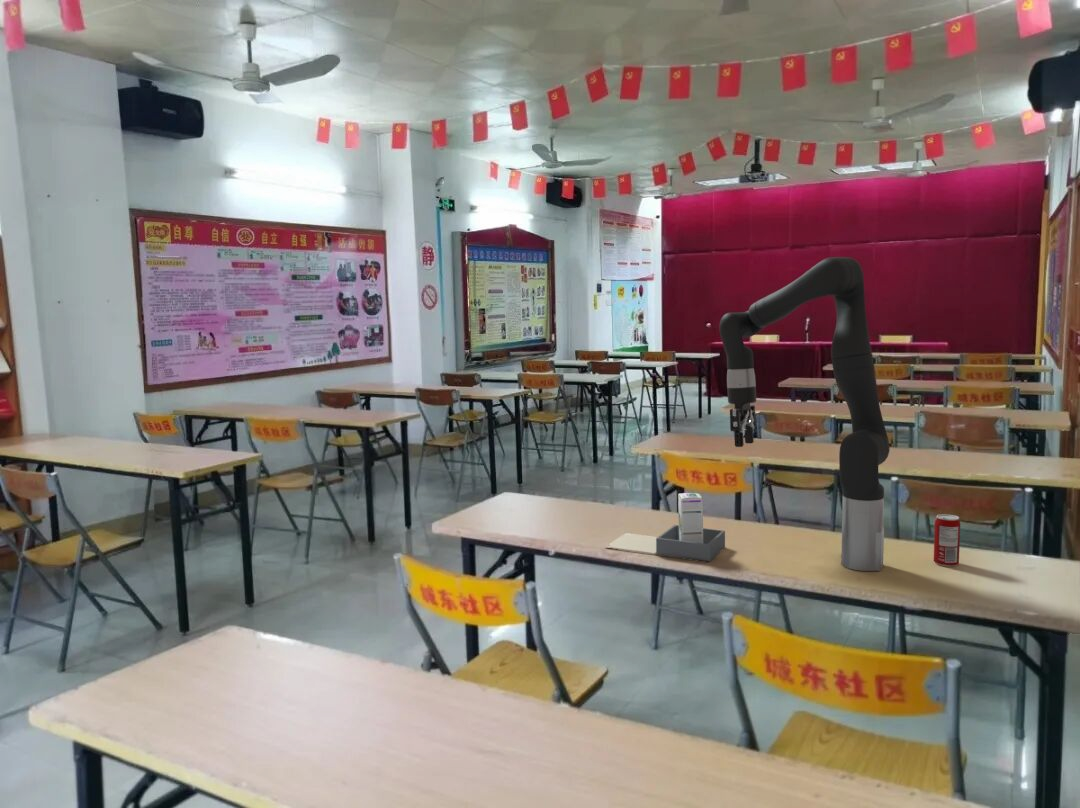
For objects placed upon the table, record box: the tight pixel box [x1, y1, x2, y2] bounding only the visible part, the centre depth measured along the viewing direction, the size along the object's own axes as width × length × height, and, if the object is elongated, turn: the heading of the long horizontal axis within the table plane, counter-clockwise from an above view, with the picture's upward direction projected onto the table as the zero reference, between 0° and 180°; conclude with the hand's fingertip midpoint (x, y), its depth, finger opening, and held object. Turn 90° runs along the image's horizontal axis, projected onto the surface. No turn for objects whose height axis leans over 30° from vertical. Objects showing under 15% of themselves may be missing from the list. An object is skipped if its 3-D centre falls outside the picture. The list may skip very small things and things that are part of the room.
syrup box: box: [677, 492, 704, 543], centre depth 206 cm, size 6×6×14 cm
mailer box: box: [605, 524, 726, 563], centre depth 210 cm, size 28×14×4 cm, turn 61°
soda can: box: [933, 513, 961, 567], centre depth 191 cm, size 6×6×12 cm
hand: (744, 445), depth 215 cm, fingers open, 8 cm apart
